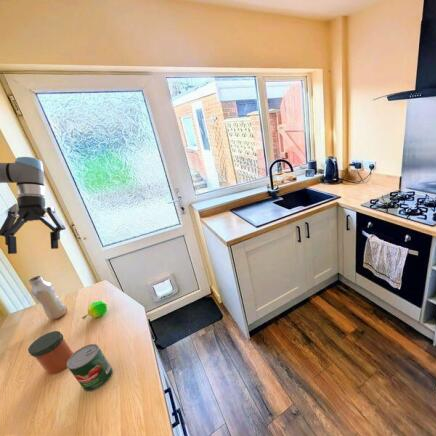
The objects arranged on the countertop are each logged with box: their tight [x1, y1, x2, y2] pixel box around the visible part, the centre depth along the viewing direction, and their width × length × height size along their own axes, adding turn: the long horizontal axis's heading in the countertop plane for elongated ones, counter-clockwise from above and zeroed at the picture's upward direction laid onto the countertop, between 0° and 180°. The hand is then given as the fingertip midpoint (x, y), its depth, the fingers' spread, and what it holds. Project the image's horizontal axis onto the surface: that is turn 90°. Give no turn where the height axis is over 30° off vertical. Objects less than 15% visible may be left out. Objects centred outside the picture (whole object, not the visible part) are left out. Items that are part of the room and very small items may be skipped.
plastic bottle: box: [28, 275, 68, 320], centre depth 102 cm, size 6×7×20 cm
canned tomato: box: [67, 343, 114, 393], centre depth 75 cm, size 8×8×11 cm
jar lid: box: [27, 330, 64, 358], centre depth 80 cm, size 8×8×2 cm
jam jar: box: [34, 338, 75, 376], centre depth 82 cm, size 8×8×11 cm
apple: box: [81, 300, 108, 321], centre depth 102 cm, size 7×6×9 cm
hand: (33, 251), depth 94 cm, fingers open, 13 cm apart
